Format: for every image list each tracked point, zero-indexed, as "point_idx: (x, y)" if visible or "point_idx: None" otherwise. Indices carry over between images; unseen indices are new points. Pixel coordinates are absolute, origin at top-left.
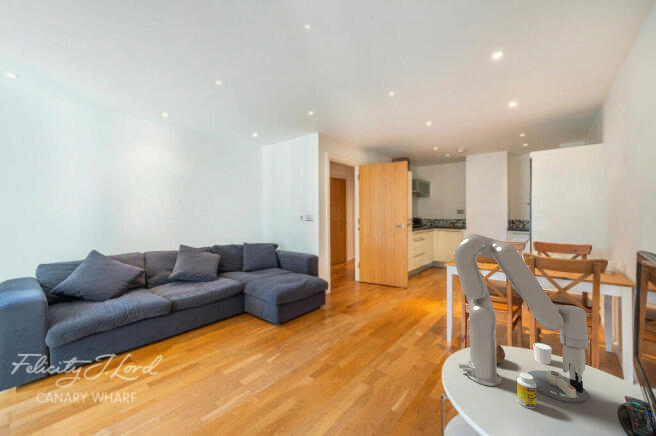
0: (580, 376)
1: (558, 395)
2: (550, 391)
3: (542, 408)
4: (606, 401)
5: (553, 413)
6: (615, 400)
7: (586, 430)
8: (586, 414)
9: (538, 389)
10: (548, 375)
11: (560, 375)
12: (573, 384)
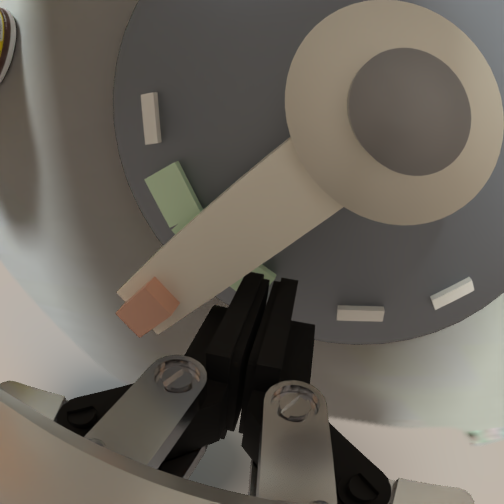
0: (249, 483)
1: (144, 160)
2: (140, 97)
3: (4, 115)
4: (373, 397)
5: (7, 166)
6: (410, 419)
7: (21, 286)
8: (122, 303)
9: (136, 13)
10: (325, 26)
11: (419, 191)
12: (197, 341)
